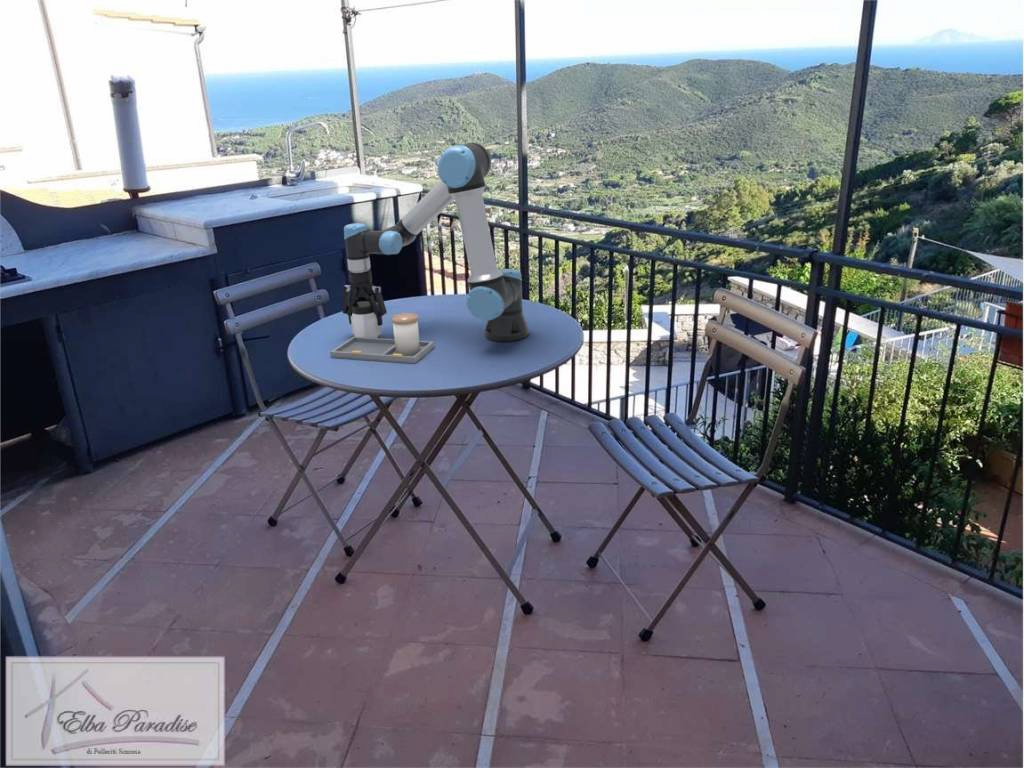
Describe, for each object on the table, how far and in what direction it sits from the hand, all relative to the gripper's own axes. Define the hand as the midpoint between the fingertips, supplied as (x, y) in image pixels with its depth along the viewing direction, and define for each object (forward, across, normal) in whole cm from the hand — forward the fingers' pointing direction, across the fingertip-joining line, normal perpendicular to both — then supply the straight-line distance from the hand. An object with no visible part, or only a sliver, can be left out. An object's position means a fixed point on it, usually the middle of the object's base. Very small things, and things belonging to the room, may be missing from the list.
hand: (367, 333), depth 262 cm
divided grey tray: (+1, -13, +14) cm, 19 cm away
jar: (+2, 0, 0) cm, 2 cm away
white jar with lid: (+1, -22, +14) cm, 26 cm away
